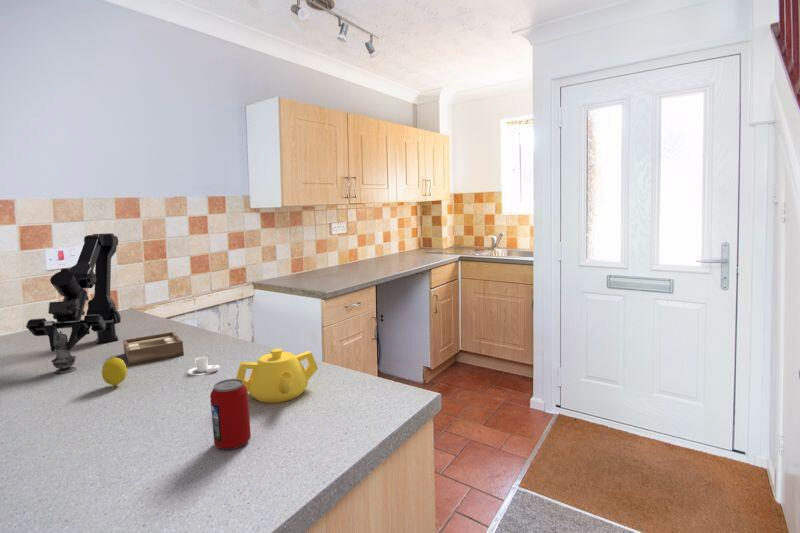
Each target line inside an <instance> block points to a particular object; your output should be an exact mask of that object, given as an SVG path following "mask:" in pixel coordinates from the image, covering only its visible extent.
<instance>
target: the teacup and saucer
mask: <svg viewBox="0 0 800 533" xmlns="http://www.w3.org/2000/svg"><path fill="white" fill-rule="evenodd" d="M208 360H209V359H208V356H205V355H203V356H198V357H196V358H194V361H193V363H194V365H195V367H192V368H191V369H189V370H188V371H187V374H188V375H190V376H203V375H208V374H211V373H212V374H213V373H214V372H217V371H218V370H219V369H220V368H221V367H220V365H219V364H214V365H212V364H208ZM195 370H197V372H199V373H194V371H195ZM203 372H204V373H203Z"/></svg>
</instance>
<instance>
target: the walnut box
mask: <svg viewBox="0 0 800 533" xmlns="http://www.w3.org/2000/svg"><path fill="white" fill-rule="evenodd" d="M183 342H184V341H183V340H182V339H181V338H180V337H179V336H178V335H177V334H176V332H175V331H171V332H165V333H158V334H157V333H156V334H153V335H147V336H139V337H136V338H129V339H127V338H126V339H123V340H122V343H123V352H124V356H125V358H126V361H127V363H128V366H130V367H131V366H135V365H139V364H145V363H149V362H156V361H160V360H161V361H162V360H165V359H170V358H176V357H177V358H178V357H180V356H184V343H183Z"/></svg>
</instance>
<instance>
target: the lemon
mask: <svg viewBox="0 0 800 533" xmlns="http://www.w3.org/2000/svg"><path fill="white" fill-rule="evenodd" d="M127 373H128V369H127V365H126V362H125V361H124V360H123V359H121V358H120V357H119V358H118V357H116V356H112V357H111V358H109V359H106V361H104V363H103V365H102V369H101V377H102V379H103V381H104V383H106V384H108V385H110V386H114V387H118V386H119V384H120V383H123V381H124V380H126V378H127Z"/></svg>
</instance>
